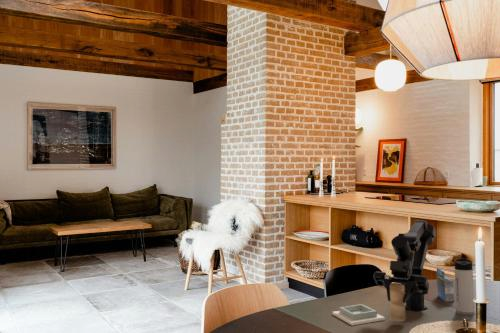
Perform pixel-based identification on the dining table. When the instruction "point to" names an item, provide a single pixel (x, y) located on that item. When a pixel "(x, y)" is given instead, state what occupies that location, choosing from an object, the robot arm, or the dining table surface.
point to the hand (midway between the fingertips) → (396, 301)
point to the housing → (358, 314)
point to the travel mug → (464, 287)
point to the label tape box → (444, 287)
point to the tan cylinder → (397, 302)
